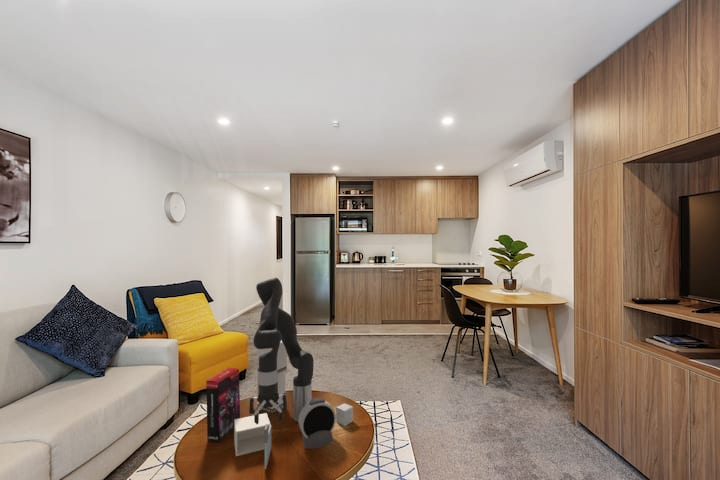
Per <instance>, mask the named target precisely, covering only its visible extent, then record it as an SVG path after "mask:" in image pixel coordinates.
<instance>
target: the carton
mask: <svg viewBox="0 0 720 480" xmlns="http://www.w3.org/2000/svg"><path fill="white" fill-rule="evenodd" d="M266 424H268V430H269V426H270V425H271V421H270V419H269V417H268V412H264V413H259V423H258V424H256V423H255V422H254V415H251V416H249V415H248V416H245V417H240V418H239V419H234V429H233V431H234V434H233V435H234V436H233V437H234V438H233V441H234V443H233V445H234V451H235V457H238V456H242V455H248V454H250V453H254V452H255V453H256V452H258V451H264V450H265V444H264V429H265V426H266Z"/></svg>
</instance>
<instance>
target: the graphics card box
mask: <svg viewBox="0 0 720 480" xmlns="http://www.w3.org/2000/svg"><path fill="white" fill-rule="evenodd" d="M205 385H206V387H205V389H206V433H207V434H206V436H207V437H206V438H207V439H206V440H207V441H208V442H212V443H213V442H214V443H220V442H222V441H223V439H225V438H226V437H227V436H228V435H229V434H230V433H231V432H232V431H234V419H239V418H241V407H240V406H241V402H240V401H241V398H240V397H241V396H240V369H239V368H235V367H227V368H226V369H224V370H222V371H221V372H219V373H217V374H216V375H214V376H213V377H211V378H209V379H207V380H206V384H205Z"/></svg>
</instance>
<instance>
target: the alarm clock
mask: <svg viewBox="0 0 720 480" xmlns="http://www.w3.org/2000/svg"><path fill="white" fill-rule="evenodd" d="M312 399H313V400H311V401H310V402H309V403H307V404H306V405H305V406H304V407H303V409H302V410H301V412H300V415H299V420H298V421H297V422H298V427H299V430H300V431H301V434H302V437H301V442H302V444H303V446H304V447H305V449H306V450H311V449H312V450H313V449H319V448H322V447H325V446H327V445H330V444H332V443H333V442H334V437H333V433H332V431H333V430H334V428H335V426H336V423H337V422H336V411H335V409H334V408H333V407H332V406H331V404H330V403H329V402H328V401H327V400H325V399H324V398H323V397H316V398H312Z"/></svg>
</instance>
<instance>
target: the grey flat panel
mask: <svg viewBox="0 0 720 480" xmlns="http://www.w3.org/2000/svg"><path fill="white" fill-rule="evenodd" d="M264 444H265V449H264V470H267V467H268V463H269V459H270V455H271V452H272V424H270V426H269V430H268V424H266V426H265V429H264Z"/></svg>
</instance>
